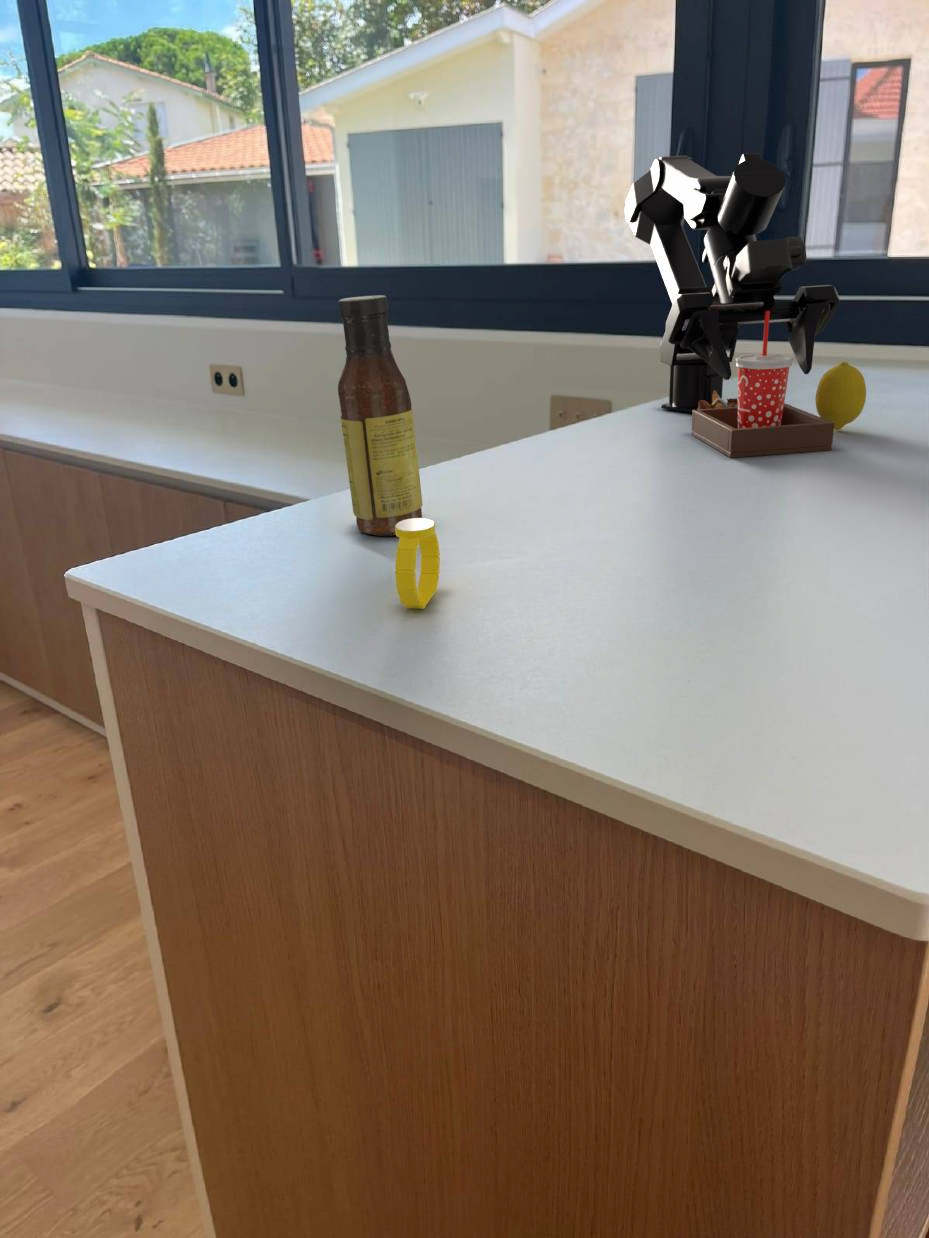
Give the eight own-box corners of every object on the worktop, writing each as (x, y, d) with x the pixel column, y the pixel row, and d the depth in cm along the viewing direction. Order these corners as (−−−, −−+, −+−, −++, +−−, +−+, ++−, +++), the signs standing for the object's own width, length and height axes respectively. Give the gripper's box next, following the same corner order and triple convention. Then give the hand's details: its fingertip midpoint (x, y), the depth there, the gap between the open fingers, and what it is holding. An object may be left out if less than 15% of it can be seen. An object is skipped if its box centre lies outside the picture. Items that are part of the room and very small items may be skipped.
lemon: (869, 434, 111) (877, 364, 107) (821, 436, 111) (828, 366, 108) (852, 424, 116) (859, 357, 113) (806, 426, 116) (812, 359, 113)
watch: (415, 586, 71) (410, 510, 69) (450, 588, 71) (446, 511, 68) (389, 616, 66) (381, 535, 64) (426, 619, 65) (421, 537, 63)
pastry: (765, 411, 125) (767, 384, 124) (744, 430, 116) (746, 400, 114) (712, 409, 129) (714, 382, 127) (688, 427, 119) (689, 398, 118)
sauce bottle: (433, 519, 87) (419, 292, 79) (408, 540, 82) (389, 299, 74) (369, 516, 89) (348, 294, 81) (339, 536, 84) (315, 301, 76)
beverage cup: (732, 431, 113) (740, 308, 108) (786, 432, 111) (797, 307, 106) (729, 442, 108) (737, 314, 102) (785, 443, 106) (797, 313, 100)
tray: (691, 434, 115) (692, 409, 114) (783, 427, 116) (785, 403, 115) (730, 458, 103) (732, 430, 102) (831, 450, 104) (834, 423, 103)
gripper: (677, 216, 103) (708, 332, 97) (841, 207, 104) (881, 320, 99) (653, 288, 113) (680, 397, 107) (802, 279, 115) (837, 386, 109)
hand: (768, 374), depth 105 cm, fingers open, 9 cm apart
